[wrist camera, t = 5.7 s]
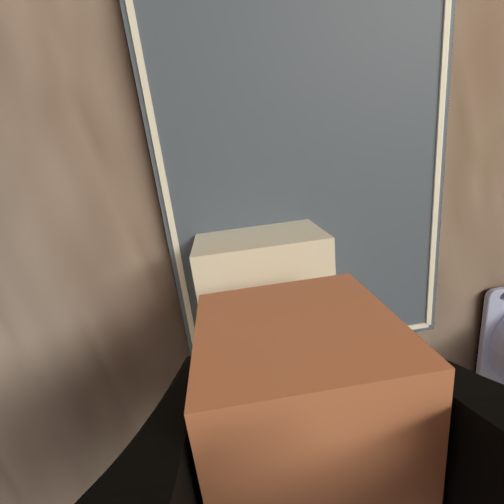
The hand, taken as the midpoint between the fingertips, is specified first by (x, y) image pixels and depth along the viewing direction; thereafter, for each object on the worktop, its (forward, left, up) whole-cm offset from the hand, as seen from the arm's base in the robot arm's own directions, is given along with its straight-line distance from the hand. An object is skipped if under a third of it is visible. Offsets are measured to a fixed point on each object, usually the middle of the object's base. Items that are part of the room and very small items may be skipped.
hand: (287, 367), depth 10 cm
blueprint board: (-3, -5, -8) cm, 10 cm away
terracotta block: (0, 0, -1) cm, 1 cm away
